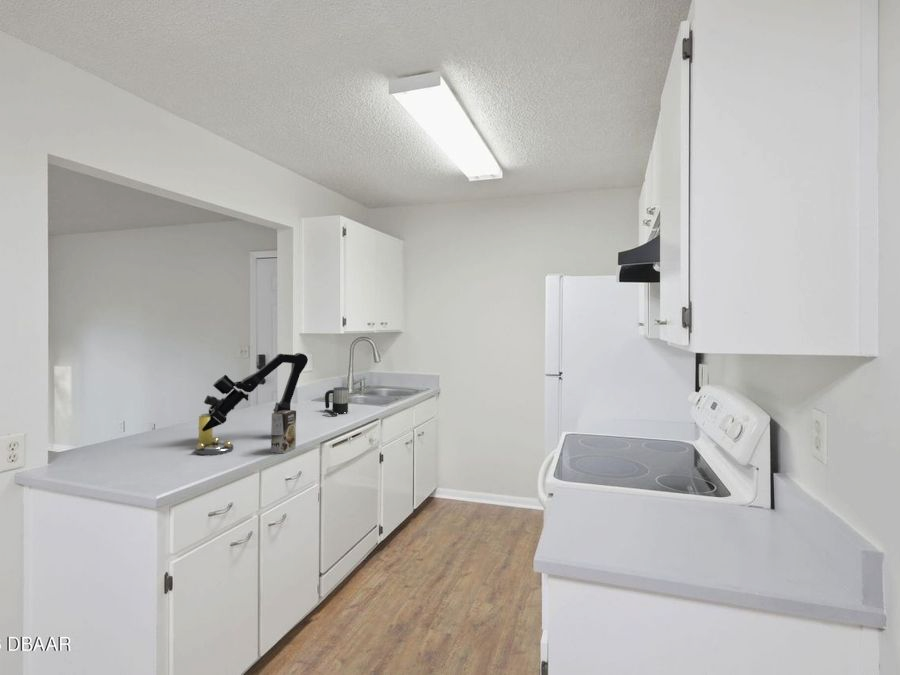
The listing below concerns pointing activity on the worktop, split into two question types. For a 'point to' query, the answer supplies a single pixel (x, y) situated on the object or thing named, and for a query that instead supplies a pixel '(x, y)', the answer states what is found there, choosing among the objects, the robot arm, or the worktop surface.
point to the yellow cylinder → (204, 435)
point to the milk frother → (337, 400)
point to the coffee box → (283, 431)
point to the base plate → (214, 447)
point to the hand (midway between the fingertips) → (202, 428)
